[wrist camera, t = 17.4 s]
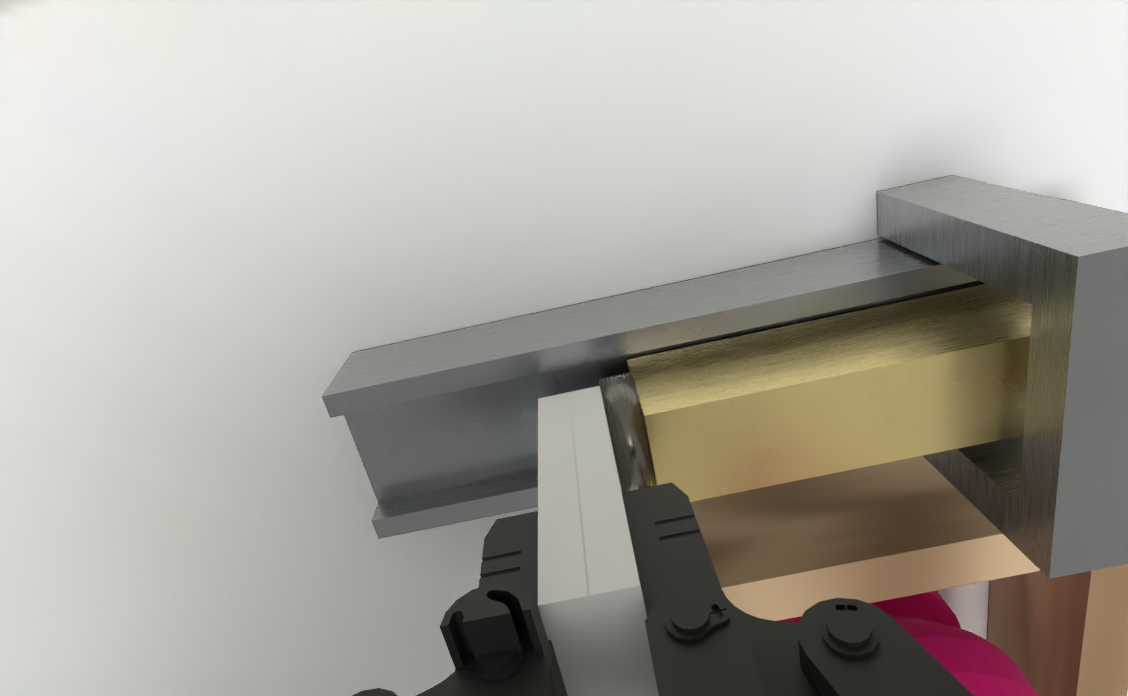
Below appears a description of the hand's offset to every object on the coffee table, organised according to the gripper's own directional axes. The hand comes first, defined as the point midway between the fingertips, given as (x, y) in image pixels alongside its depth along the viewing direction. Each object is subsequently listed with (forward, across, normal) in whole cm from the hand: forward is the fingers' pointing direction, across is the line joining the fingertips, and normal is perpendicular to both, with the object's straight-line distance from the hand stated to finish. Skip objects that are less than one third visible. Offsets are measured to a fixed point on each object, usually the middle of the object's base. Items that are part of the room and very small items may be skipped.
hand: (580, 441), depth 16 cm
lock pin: (+2, +6, 0) cm, 6 cm away
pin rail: (+4, +4, 0) cm, 5 cm away
